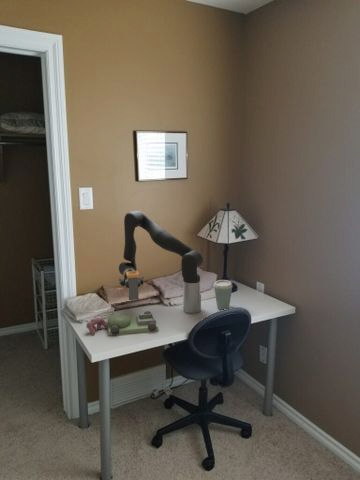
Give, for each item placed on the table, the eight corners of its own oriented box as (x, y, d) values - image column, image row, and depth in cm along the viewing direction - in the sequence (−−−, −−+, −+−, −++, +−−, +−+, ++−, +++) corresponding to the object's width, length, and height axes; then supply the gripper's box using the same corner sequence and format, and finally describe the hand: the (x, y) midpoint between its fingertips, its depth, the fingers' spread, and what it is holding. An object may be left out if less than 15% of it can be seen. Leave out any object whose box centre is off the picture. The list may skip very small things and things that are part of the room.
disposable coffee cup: (231, 312, 214) (232, 286, 211) (211, 310, 216) (212, 284, 213) (232, 304, 224) (233, 280, 221) (214, 303, 226) (214, 278, 223)
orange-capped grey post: (138, 295, 211) (137, 270, 208) (139, 299, 205) (138, 274, 202) (127, 296, 210) (126, 271, 206) (128, 300, 204) (127, 275, 201)
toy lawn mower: (153, 317, 207) (153, 308, 206) (158, 330, 191) (158, 321, 190) (107, 321, 202) (107, 312, 201) (108, 335, 186) (108, 325, 185)
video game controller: (104, 329, 197) (99, 316, 197) (109, 327, 194) (104, 314, 194) (88, 336, 189) (83, 322, 190) (93, 334, 186) (88, 320, 187)
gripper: (117, 270, 217) (119, 280, 201) (142, 269, 220) (146, 278, 204) (117, 283, 219) (119, 294, 202) (143, 281, 222) (147, 291, 205)
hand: (133, 285), depth 203 cm, fingers closed on orange-capped grey post, 5 cm apart
